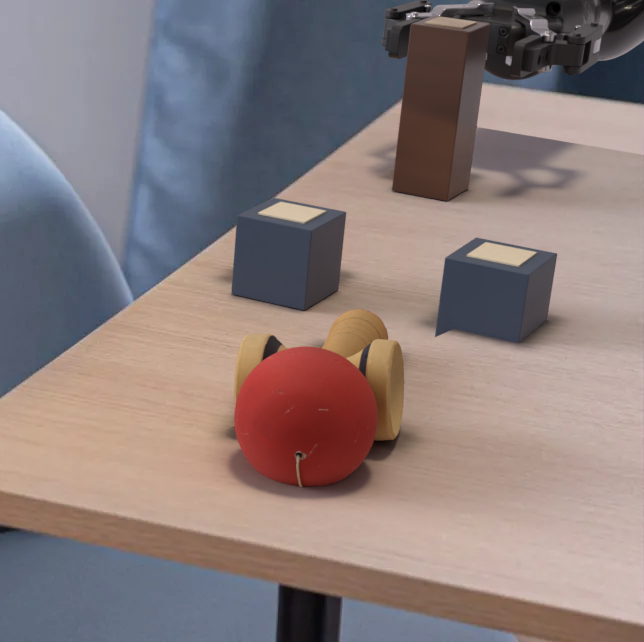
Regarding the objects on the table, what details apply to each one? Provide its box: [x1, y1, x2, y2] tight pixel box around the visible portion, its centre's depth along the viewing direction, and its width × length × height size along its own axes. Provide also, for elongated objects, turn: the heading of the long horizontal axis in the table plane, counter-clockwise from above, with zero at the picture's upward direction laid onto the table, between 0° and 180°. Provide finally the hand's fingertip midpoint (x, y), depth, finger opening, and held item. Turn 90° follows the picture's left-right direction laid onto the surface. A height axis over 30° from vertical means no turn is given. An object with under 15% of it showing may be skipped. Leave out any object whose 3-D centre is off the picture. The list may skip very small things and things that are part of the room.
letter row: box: [230, 197, 558, 344], centre depth 95 cm, size 16×4×5 cm, turn 59°
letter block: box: [391, 16, 490, 202], centre depth 117 cm, size 4×4×11 cm
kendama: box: [233, 308, 405, 488], centre depth 80 cm, size 8×6×18 cm
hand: (454, 51), depth 116 cm, fingers open, 8 cm apart
